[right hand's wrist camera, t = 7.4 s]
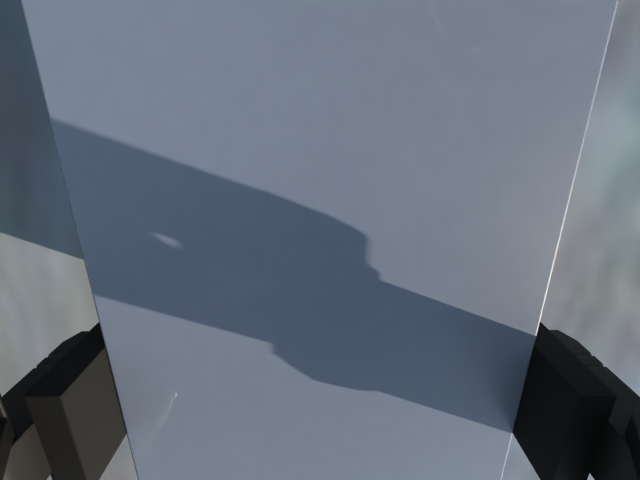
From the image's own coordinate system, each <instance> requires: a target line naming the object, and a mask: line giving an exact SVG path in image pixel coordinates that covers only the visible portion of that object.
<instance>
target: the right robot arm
mask: <svg viewBox="0 0 640 480" xmlns="http://www.w3.org/2000/svg"><path fill="white" fill-rule="evenodd" d="M126 434H127V432H126V428H125V424H124V420H123V416H122V412H121V408H120V404H119V400H118V396H117V392H116V388H115V384H114V380H113V376H112V372H111V367H110V363H109V359H108V355H107V351H106V347H105V343H104V339H103V335H102V331H101V327H100V323H98V324H96V325H95V326H94V327H93V328H92V329H91V330H90V331H82V332H80V333H78V334H76V335H75V336H73V337H71V338H69V339H67V340H66V341H64V342H62V343H61V344H60V345H59V346H58V347H57V348H56V349H55V350H54V351H52V352H51V353H50V354H49V357H46V358H45V359H44V360H42V361H41V362H40V363H39V364H38V365H37V368H34V369H32V370H31V371H30V372H29V373H28V374H27V375H26V376H25V377H24V378H23V379H21V380H20V381H19V382H18V383H17V384H16V385H15V386H14V387H13V388H11V389H10V390H9V391H8V392H7V393H6V394H5V395H4V396H3V397H1V394H0V480H46V479H47V478H48V477H49V475H50V474H51V477H52V480H99V479H100V477H101V475H102V474H103V472H104V470H105V469H106V467H107V465H108V464H109V462H110V460H111V459H112V457H113V455H114V454H115V452H116V450H117V449H118V447H119V445H120V444H121V442H122V440H123V439H124V437H125V435H126ZM513 434H514V436H515V438H516V439H517V441H518V443H519V444H520V446H521V448H522V449H523V451H524V453H525V454H526V456H527V458H528V459H529V461H530V463H531V464H532V466H533V468H534V469H535V471H536V473H537V474H538V476H539V478H540V480H587V478H588V476H589V473H590V474H591V475H592V477H593V478H594V479H595V480H640V397H639V396H638V395H637V394H636V393H635V392H634V391H632V390H631V389H630V388H629V387H628V386H627V385H626V384H625V383H624V382H622V381H621V380H620V379H619V378H618V377H617V376H616V375H615V374H614V373H612V372H611V371H610V370H609V369H608V368H607V367H604V366H603V364H602V363H601V362H600V361H599V360H598V359H597V358H596V357H595V356H591V353H590V352H589V351H588V350H587V349H586V348H584V347H583V346H582V345H581V344H580V343H579V342H578V341H576V340H575V339H573V338H571V337H569V336H568V335H566V334H564V333H562V332H560V331H559V330H548V329H547V328H546V327H545V326H544V325H543V324H542V323H541V322H540V323H539V328H538V332H537V336H536V340H535V344H534V348H533V352H532V356H531V360H530V364H529V368H528V373H527V377H526V381H525V385H524V389H523V393H522V397H521V401H520V405H519V409H518V414H517V418H516V422H515V426H514V430H513Z"/></svg>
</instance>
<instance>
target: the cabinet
mask: <svg viewBox="0 0 640 480" xmlns="http://www.w3.org/2000/svg"><path fill="white" fill-rule="evenodd" d="M20 2H21V6H22V10H23V14H24V19H25V23H26V27H27V31H28V35H29V39H30V43H31V47H32V51H33V55H34V59H35V63H36V67H37V71H38V75H39V79H40V83H41V88H42V92H43V96H44V100H45V104H46V108H47V112H48V116H49V120H50V124H51V128H52V132H53V136H54V140H55V144H56V148H57V152H58V156H59V161H60V165H61V169H62V173H63V177H64V181H65V185H66V189H67V193H68V197H69V201H70V205H71V209H72V213H73V217H74V221H75V225H76V230H77V234H78V238H79V242H80V246H81V250H82V254H83V258H84V262H85V266H86V270H87V274H88V278H89V282H90V286H91V290H92V294H93V299H94V303H95V307H96V311H97V315H98V319H99V323H100V327H101V331H102V335H103V339H104V343H105V347H106V351H107V355H108V359H109V363H110V367H111V372H112V376H113V380H114V384H115V388H116V392H117V396H118V400H119V404H120V408H121V412H122V416H123V420H124V424H125V428H126V432H127V436H128V441H129V445H130V449H131V453H132V457H133V461H134V465H135V469H136V473H137V477H138V480H501V479H502V475H503V471H504V467H505V463H506V459H507V454H508V450H509V446H510V442H511V438H512V434H513V430H514V426H515V422H516V418H517V414H518V409H519V405H520V401H521V397H522V393H523V389H524V385H525V381H526V377H527V373H528V368H529V364H530V360H531V356H532V352H533V348H534V344H535V340H536V336H537V332H538V328H539V323H540V319H541V315H542V311H543V307H544V303H545V299H546V295H547V291H548V287H549V283H550V278H551V274H552V270H553V266H554V262H555V258H556V254H557V250H558V246H559V242H560V238H561V233H562V229H563V225H564V221H565V217H566V213H567V209H568V205H569V201H570V197H571V193H572V188H573V184H574V180H575V176H576V172H577V168H578V164H579V160H580V156H581V152H582V148H583V143H584V139H585V135H586V131H587V127H588V123H589V119H590V115H591V111H592V107H593V102H594V98H595V94H596V90H597V86H598V82H599V78H600V74H601V70H602V66H603V62H604V57H605V53H606V49H607V45H608V41H609V37H610V33H611V29H612V25H613V21H614V17H615V12H616V8H617V4H618V0H20Z"/></svg>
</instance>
